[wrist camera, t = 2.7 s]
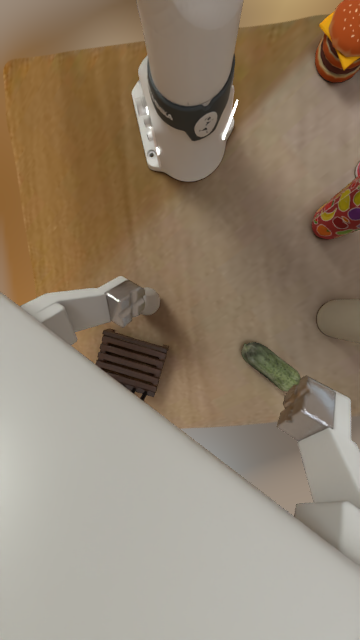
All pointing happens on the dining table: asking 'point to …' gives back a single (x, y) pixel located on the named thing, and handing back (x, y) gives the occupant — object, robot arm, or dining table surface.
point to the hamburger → (340, 43)
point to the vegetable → (270, 365)
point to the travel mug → (340, 319)
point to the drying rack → (132, 362)
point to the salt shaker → (150, 301)
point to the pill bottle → (357, 170)
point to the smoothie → (339, 213)
